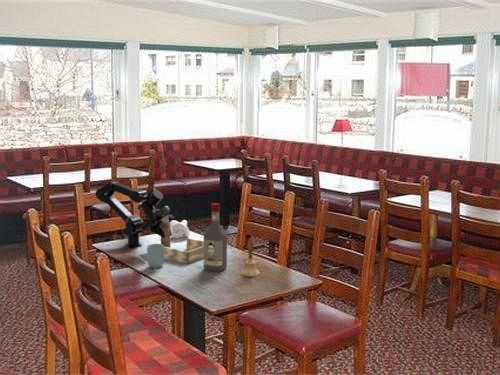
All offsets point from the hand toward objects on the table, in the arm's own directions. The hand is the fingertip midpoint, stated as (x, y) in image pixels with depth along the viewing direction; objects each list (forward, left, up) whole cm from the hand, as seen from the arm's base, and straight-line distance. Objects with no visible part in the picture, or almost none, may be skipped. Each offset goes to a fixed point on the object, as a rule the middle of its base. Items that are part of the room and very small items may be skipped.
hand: (167, 236), depth 302 cm
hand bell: (+47, +20, -8) cm, 52 cm away
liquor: (+34, +9, -8) cm, 36 cm away
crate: (+11, +6, -8) cm, 15 cm away
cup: (+20, -14, -8) cm, 26 cm away
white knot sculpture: (-26, +17, -9) cm, 32 cm away
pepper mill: (-1, -1, -6) cm, 7 cm away
